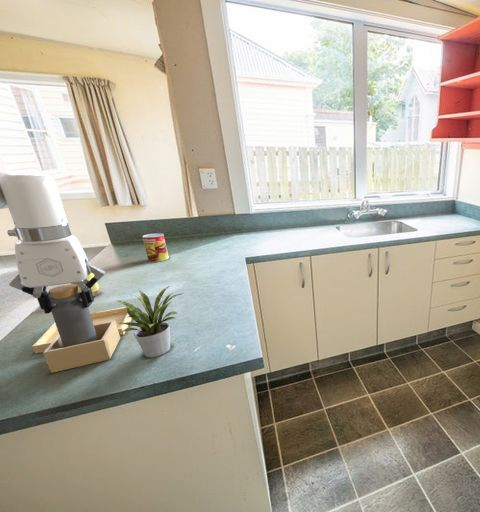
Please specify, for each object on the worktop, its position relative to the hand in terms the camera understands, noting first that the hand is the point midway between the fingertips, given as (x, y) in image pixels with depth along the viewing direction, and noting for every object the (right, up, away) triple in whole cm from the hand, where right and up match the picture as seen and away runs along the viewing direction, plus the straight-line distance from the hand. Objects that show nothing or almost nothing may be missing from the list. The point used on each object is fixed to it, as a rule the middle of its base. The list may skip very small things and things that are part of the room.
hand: (69, 307), depth 69 cm
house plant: (+17, -12, +7) cm, 22 cm away
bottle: (0, -10, +3) cm, 10 cm away
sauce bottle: (-30, -2, +35) cm, 46 cm away
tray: (-9, -9, +14) cm, 19 cm away
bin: (0, -12, +4) cm, 13 cm away
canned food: (-35, +10, +73) cm, 81 cm away
